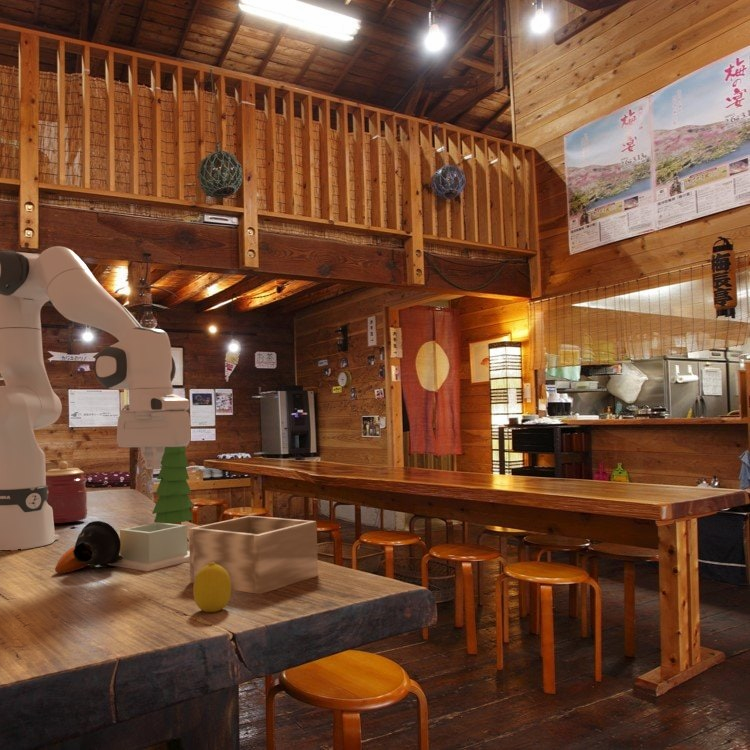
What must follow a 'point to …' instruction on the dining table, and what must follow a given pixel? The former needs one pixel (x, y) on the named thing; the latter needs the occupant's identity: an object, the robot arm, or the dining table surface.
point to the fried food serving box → (257, 551)
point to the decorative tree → (173, 488)
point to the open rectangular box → (153, 546)
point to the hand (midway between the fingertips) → (153, 468)
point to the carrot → (69, 562)
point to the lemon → (212, 588)
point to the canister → (67, 493)
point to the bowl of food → (98, 544)
